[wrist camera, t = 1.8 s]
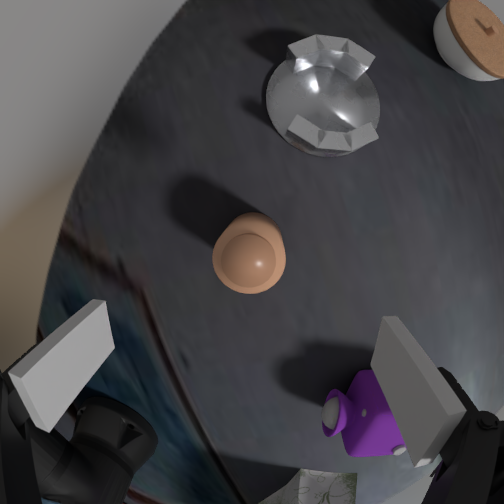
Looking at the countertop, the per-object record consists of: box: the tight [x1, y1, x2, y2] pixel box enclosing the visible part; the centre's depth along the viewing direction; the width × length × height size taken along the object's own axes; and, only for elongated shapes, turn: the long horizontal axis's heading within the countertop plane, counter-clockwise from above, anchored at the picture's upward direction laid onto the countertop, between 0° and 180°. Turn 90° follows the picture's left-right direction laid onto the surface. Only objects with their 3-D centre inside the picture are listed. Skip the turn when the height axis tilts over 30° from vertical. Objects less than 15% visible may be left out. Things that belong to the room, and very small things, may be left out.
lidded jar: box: [433, 0, 504, 81], centre depth 18 cm, size 11×11×9 cm
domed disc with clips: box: [266, 35, 380, 157], centre depth 24 cm, size 12×12×5 cm
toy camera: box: [321, 370, 407, 457], centre depth 31 cm, size 11×14×10 cm
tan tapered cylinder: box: [212, 212, 286, 294], centre depth 27 cm, size 6×6×8 cm
